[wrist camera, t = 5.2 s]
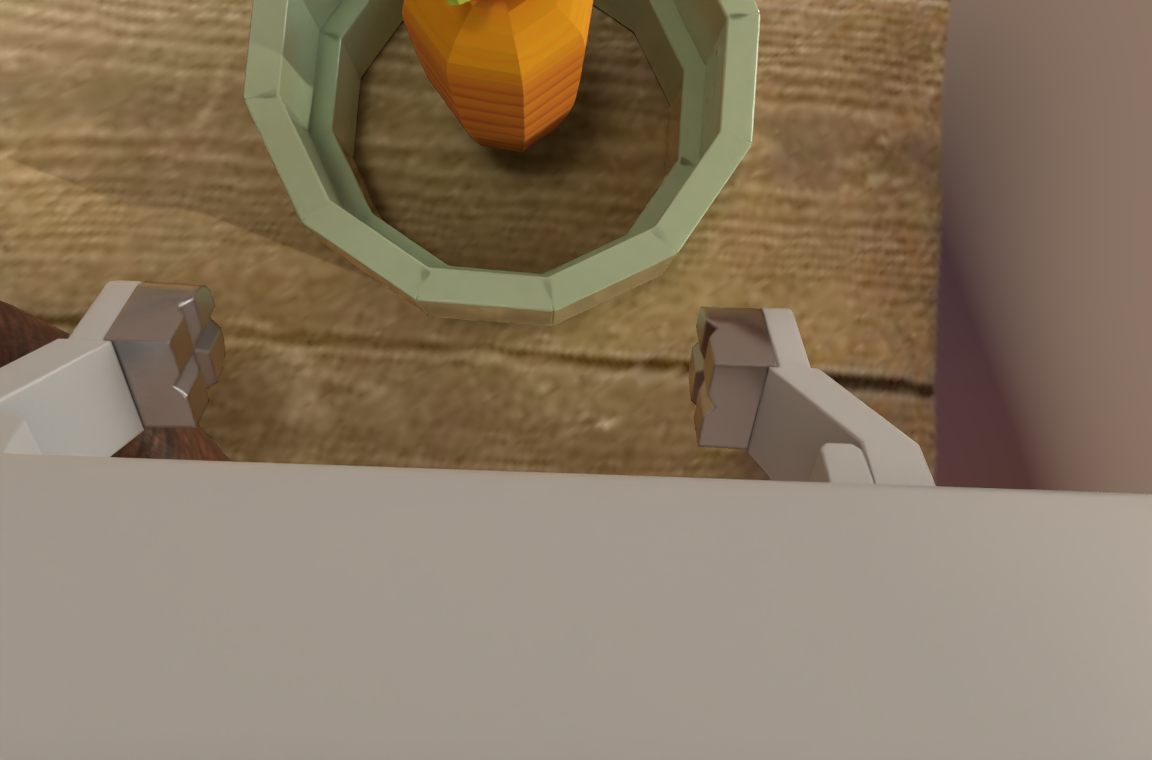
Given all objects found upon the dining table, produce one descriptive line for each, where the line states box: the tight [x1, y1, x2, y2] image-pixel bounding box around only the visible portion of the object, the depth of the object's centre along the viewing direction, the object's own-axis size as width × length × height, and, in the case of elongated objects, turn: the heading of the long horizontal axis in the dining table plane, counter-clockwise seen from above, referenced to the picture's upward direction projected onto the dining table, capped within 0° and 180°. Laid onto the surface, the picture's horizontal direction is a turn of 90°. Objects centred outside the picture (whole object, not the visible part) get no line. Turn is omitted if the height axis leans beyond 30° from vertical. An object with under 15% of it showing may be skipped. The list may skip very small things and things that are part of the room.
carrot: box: [402, 0, 593, 152], centre depth 25 cm, size 5×5×15 cm
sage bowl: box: [243, 0, 760, 326], centre depth 29 cm, size 15×15×7 cm
